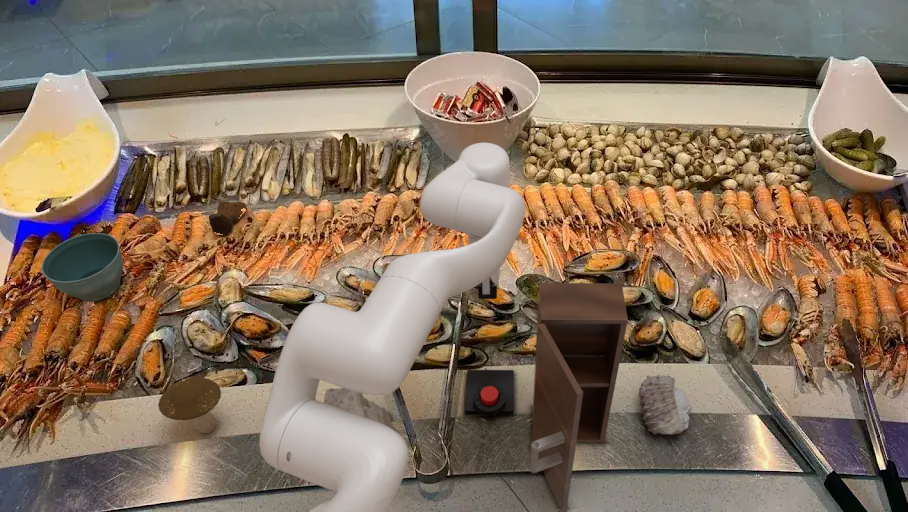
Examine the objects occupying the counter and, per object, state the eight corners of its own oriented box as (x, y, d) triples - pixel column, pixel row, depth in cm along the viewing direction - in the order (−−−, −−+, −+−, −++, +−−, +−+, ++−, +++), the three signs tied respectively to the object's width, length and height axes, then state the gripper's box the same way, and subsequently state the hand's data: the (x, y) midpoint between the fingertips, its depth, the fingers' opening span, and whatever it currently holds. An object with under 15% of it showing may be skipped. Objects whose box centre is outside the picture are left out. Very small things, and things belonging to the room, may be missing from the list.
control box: (513, 420, 136) (513, 411, 133) (464, 420, 135) (464, 411, 133) (513, 374, 144) (513, 364, 142) (467, 374, 144) (466, 364, 141)
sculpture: (197, 209, 166) (221, 174, 178) (196, 238, 173) (220, 202, 184) (229, 218, 167) (252, 182, 179) (228, 246, 174) (249, 210, 185)
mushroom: (184, 409, 137) (159, 365, 127) (241, 406, 137) (220, 363, 127) (170, 450, 130) (142, 407, 120) (229, 447, 131) (206, 405, 121)
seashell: (699, 440, 129) (678, 407, 125) (654, 453, 133) (633, 421, 128) (689, 386, 142) (670, 354, 138) (649, 399, 145) (629, 368, 141)
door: (533, 523, 120) (541, 407, 95) (504, 456, 130) (505, 335, 104) (566, 509, 122) (583, 392, 97) (536, 444, 131) (543, 322, 106)
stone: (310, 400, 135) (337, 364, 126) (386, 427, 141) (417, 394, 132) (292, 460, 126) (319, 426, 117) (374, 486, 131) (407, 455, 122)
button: (498, 406, 135) (498, 401, 133) (480, 406, 134) (480, 401, 133) (498, 390, 137) (498, 385, 136) (481, 390, 137) (480, 385, 136)
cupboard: (603, 442, 132) (628, 319, 107) (533, 442, 132) (540, 319, 106) (599, 407, 138) (621, 283, 112) (532, 407, 138) (539, 282, 112)
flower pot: (150, 274, 165) (134, 242, 158) (98, 321, 154) (78, 289, 146) (100, 257, 169) (82, 225, 162) (46, 302, 158) (24, 270, 151)
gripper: (463, 186, 108) (468, 264, 121) (458, 251, 97) (464, 329, 110) (509, 186, 108) (509, 264, 121) (509, 251, 97) (509, 329, 110)
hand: (487, 295), depth 115 cm, fingers closed
